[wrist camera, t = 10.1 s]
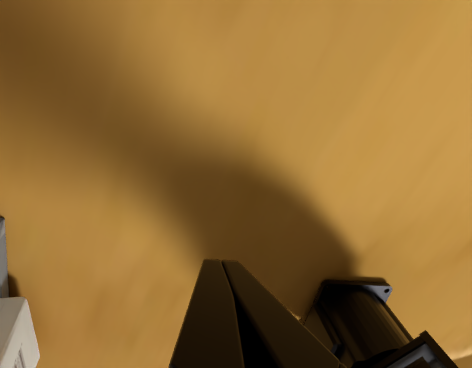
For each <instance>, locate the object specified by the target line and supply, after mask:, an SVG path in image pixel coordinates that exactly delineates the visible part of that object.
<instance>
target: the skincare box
mask: <svg viewBox="0 0 472 368" xmlns="http://www.w3.org/2000/svg"><path fill="white" fill-rule="evenodd" d="M39 358H40V354H39V349H38V344H37V340H36V336H35V332H34V328H33V323H32V319H31V314H30V309H29V306H28V302H27V299H26V298H25V297H11V298H0V368H36V365H37V363H38V360H39Z"/></svg>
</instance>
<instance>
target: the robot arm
mask: <svg viewBox="0 0 472 368" xmlns="http://www.w3.org/2000/svg"><path fill="white" fill-rule="evenodd" d="M391 292H392V287H391V286H390V285H389V284H388V283H377V282H357V281H337V280H326V281H324V282H323V283H322V284H321V286H320V288H319V291H318V293H317V296H316V298H315V300H314V303H313V305H312V307H311V310H310V312H309V315H308V317H307V319H306V322H305V324H304V325H303V324H302V323H301V322H300V321H299V320H298V319H297V318H296V317H294V316H293V315H292V314H291V313H290V312H289V311H288V310H287V309H286V308H285V307H284V306H283V305H282V304H281V303H280V302H279V301H278V300H277V299H276V298H275V297H274V296H273V295H272V294H271V293H270V292H269V291H268V290H267V289H266V288H265V287H264V286H263V285H262V284H261V283H260V282H259V281H258V280H257V279H256V278H255V277H254V276H253V275H252V274H251V273H250V272H249V271H248V270H246V269H245V268H244V267H243V266H242V265H241V264H240V263H239V262H238V261H234V260H222V261H220V260H218V259H204V260H203V263H202V266H201V269H200V272H199V275H198V278H197V281H196V284H195V287H194V290H193V293H192V296H191V299H190V302H189V306H188V309H187V312H186V315H185V318H184V321H183V324H182V327H181V330H180V333H179V336H178V339H177V342H176V345H175V348H174V351H173V354H172V358H171V361H170V364H169V368H458V367H457V366H456V364H455V363H454V362H453V361H452V360H451V359H450V358H449V356H448V355H447V354H446V353H445V352H444V351H443V350H442V348H441V347H440V346H439V345H438V344H437V343H436V341H435V340H434V339H433V338H432V337H431V336H430V335H429V333H428V332H427V331H426V330H425V331H424V332H422V333H420V334H419V335H420V336H419V337H417V338H415V339H413V338H412V337H411V335H410V334H409V333H408V332H407V330H406V329H405V328H404V326H403V325H402V324H401V322H400V321H399V320H398V319H397V317H396V316H395V315H394V313H393V312H392V311H391V309H390V308H389V307H388V306H387V304H386V301H387V299H388V297H389V295H390V293H391Z"/></svg>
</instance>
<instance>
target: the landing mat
mask: <svg viewBox="0 0 472 368" xmlns="http://www.w3.org/2000/svg"><path fill="white" fill-rule="evenodd" d="M0 298H9V288H8V271H7V254H6V237H5V219H4V218H0Z"/></svg>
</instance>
